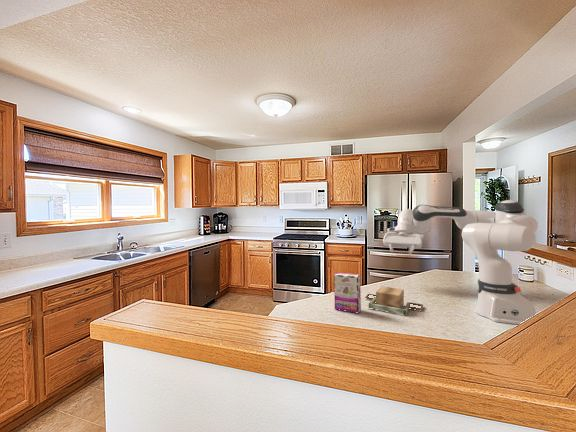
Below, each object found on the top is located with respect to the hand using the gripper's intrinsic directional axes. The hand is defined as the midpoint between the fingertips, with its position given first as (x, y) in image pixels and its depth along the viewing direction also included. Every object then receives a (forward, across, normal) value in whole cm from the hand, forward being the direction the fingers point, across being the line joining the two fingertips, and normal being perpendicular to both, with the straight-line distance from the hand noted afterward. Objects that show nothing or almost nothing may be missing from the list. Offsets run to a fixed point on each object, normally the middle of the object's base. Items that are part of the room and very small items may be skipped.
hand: (400, 252), depth 148 cm
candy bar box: (+43, +16, +12) cm, 48 cm away
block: (+34, 0, +4) cm, 35 cm away
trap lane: (+33, 0, +3) cm, 33 cm away
